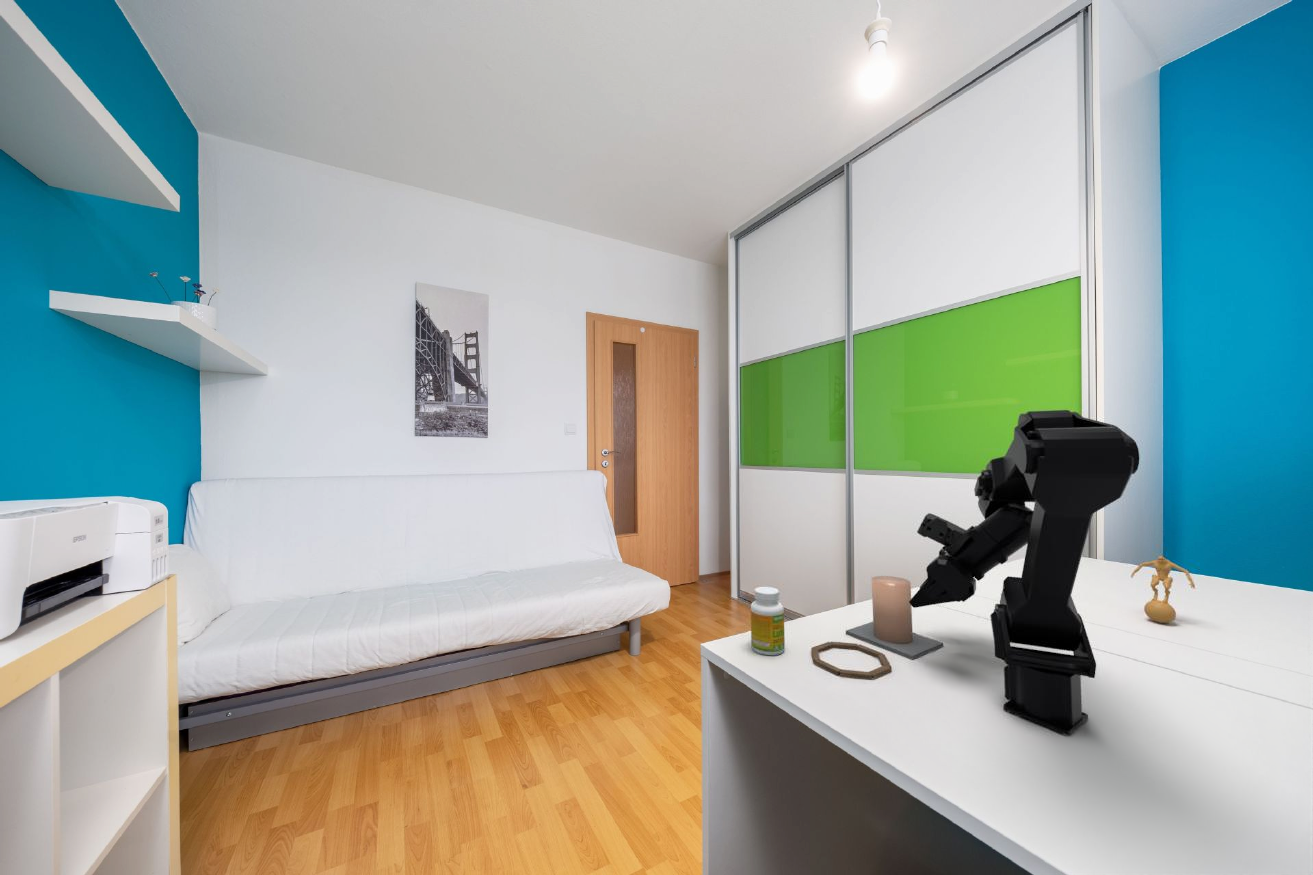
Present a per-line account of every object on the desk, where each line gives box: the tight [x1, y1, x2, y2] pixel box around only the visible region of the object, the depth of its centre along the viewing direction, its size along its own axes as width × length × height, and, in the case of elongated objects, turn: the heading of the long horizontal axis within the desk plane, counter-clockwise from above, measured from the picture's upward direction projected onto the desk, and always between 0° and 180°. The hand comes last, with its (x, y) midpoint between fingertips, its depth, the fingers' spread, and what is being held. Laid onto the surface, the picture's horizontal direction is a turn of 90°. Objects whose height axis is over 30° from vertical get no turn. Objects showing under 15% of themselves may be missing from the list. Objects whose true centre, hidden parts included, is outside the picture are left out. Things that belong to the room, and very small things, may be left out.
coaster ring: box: [810, 641, 892, 680], centre depth 72 cm, size 11×11×1 cm
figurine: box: [1130, 555, 1196, 624], centre depth 86 cm, size 8×6×12 cm
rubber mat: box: [845, 621, 944, 660], centre depth 79 cm, size 12×9×1 cm
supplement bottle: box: [750, 586, 786, 656], centre depth 76 cm, size 5×5×10 cm
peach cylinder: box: [871, 575, 914, 644], centre depth 79 cm, size 6×6×10 cm
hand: (916, 597), depth 77 cm, fingers open, 9 cm apart
